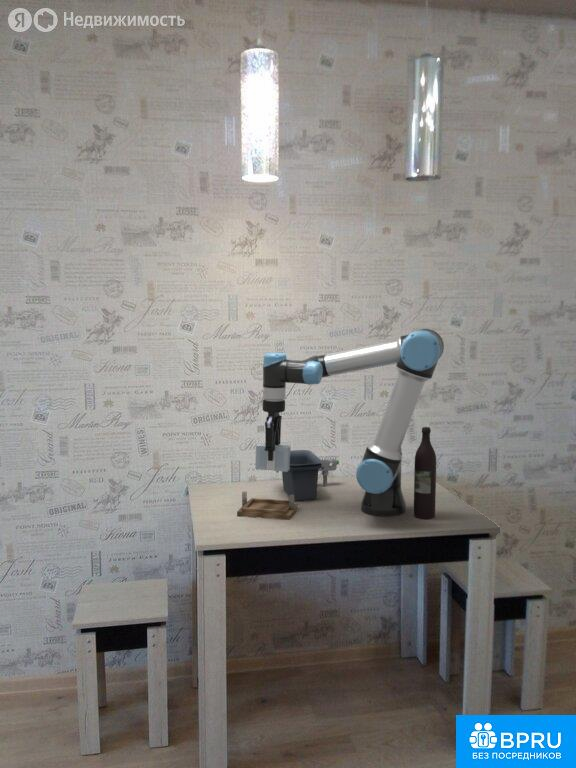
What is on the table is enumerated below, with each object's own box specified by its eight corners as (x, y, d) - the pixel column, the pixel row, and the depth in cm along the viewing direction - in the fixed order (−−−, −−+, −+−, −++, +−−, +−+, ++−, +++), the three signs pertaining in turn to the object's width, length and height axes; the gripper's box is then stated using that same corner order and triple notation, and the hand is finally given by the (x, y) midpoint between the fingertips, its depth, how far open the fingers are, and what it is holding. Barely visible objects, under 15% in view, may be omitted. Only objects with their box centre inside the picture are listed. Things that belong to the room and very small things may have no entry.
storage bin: (325, 501, 268) (325, 462, 266) (283, 504, 264) (283, 464, 262) (309, 485, 288) (309, 449, 287) (269, 488, 285) (269, 451, 283)
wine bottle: (409, 514, 252) (411, 426, 248) (427, 512, 255) (429, 425, 251) (420, 520, 246) (422, 430, 242) (439, 518, 248) (441, 428, 244)
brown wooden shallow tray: (298, 508, 259) (298, 490, 259) (289, 519, 247) (289, 500, 246) (247, 505, 264) (247, 487, 263) (236, 516, 251) (236, 497, 250)
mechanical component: (311, 485, 289) (311, 460, 287) (337, 484, 290) (337, 458, 289) (312, 487, 286) (312, 461, 284) (339, 486, 288) (339, 460, 286)
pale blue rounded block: (289, 469, 253) (290, 446, 252) (287, 471, 250) (287, 448, 249) (258, 466, 256) (258, 443, 255) (255, 468, 252) (255, 445, 251)
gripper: (269, 395, 258) (268, 461, 262) (256, 402, 242) (255, 473, 246) (290, 396, 257) (289, 463, 260) (278, 404, 241) (277, 475, 244)
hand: (272, 467), depth 253 cm, fingers closed on pale blue rounded block, 4 cm apart
